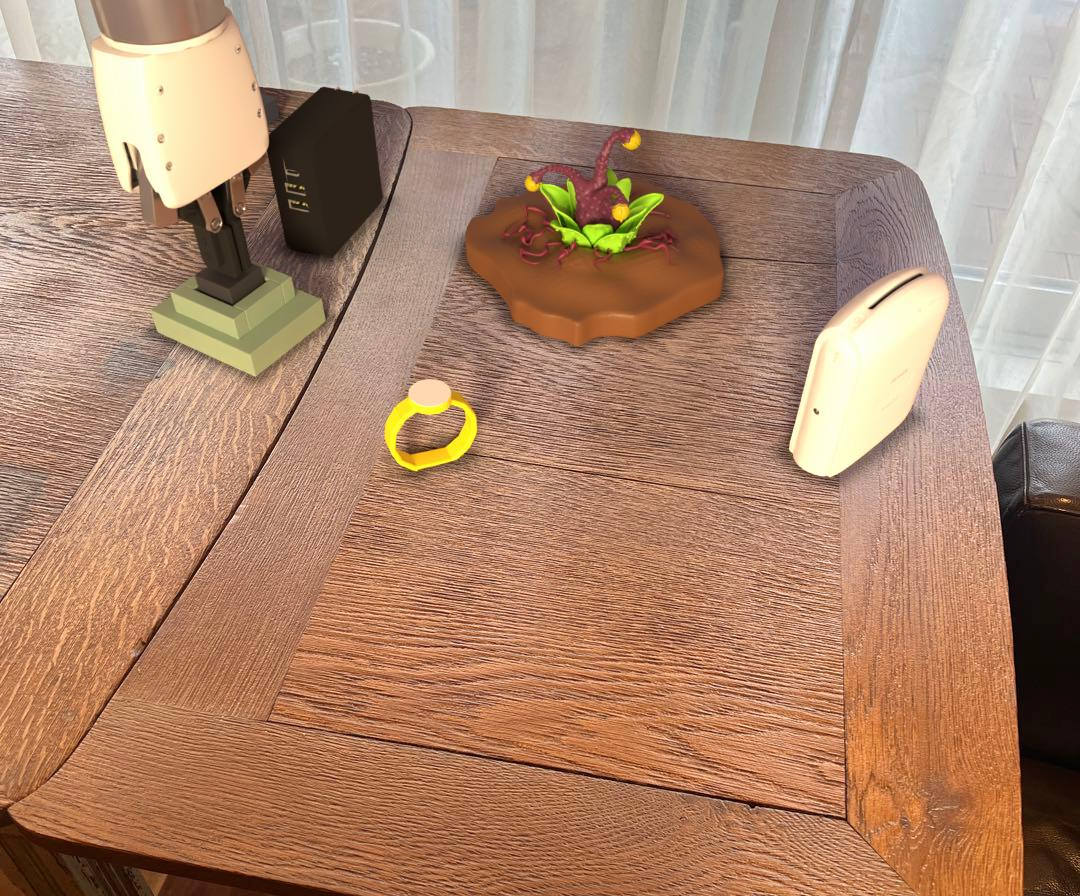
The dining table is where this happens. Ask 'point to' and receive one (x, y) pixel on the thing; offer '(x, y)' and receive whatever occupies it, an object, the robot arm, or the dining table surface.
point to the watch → (430, 400)
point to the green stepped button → (241, 321)
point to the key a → (229, 284)
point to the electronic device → (325, 170)
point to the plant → (596, 253)
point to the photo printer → (867, 369)
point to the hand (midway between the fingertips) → (228, 267)
